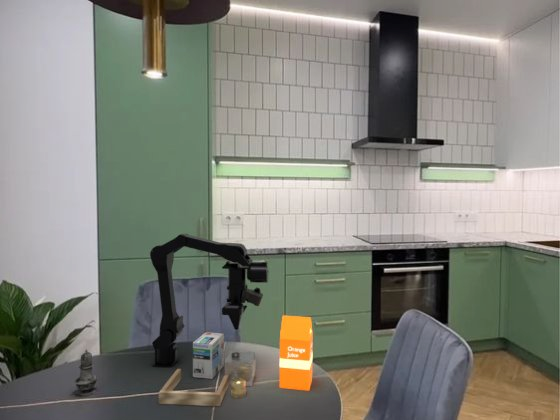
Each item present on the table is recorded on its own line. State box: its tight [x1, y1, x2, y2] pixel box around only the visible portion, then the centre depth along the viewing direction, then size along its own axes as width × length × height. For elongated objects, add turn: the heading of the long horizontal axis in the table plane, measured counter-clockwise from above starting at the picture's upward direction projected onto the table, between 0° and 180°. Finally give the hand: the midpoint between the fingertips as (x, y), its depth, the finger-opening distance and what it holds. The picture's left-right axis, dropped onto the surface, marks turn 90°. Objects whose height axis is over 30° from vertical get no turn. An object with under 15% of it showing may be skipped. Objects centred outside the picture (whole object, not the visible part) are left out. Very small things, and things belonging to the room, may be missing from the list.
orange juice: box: [279, 315, 314, 391], centre depth 113 cm, size 8×9×20 cm
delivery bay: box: [158, 368, 230, 407], centre depth 108 cm, size 16×15×3 cm
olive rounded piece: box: [230, 377, 247, 399], centre depth 107 cm, size 4×4×4 cm
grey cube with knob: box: [224, 350, 257, 387], centre depth 116 cm, size 8×8×8 cm
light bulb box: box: [192, 331, 225, 380], centre depth 121 cm, size 11×7×11 cm, turn 168°
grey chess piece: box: [74, 349, 99, 397], centre depth 107 cm, size 6×6×12 cm
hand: (236, 329), depth 126 cm, fingers closed
